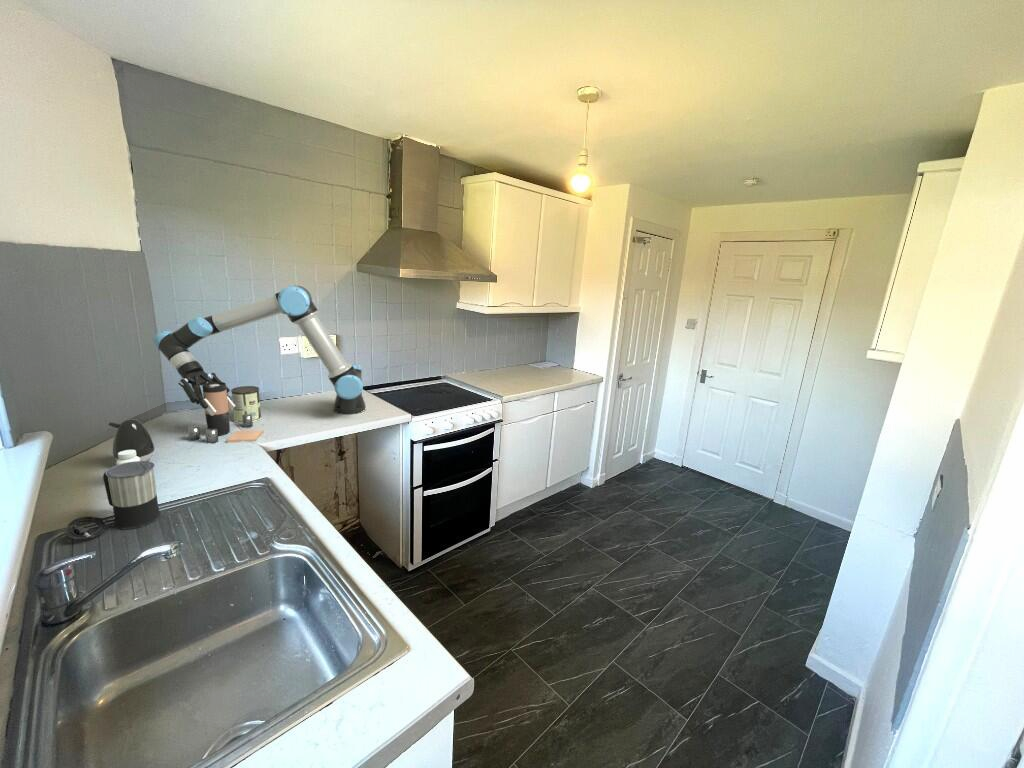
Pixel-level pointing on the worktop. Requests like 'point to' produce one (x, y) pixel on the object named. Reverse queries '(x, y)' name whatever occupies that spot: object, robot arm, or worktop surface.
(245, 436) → the terracotta tile
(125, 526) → the milk frother
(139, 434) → the pump dispenser
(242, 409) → the coffee can
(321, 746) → the worktop surface
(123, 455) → the supplement bottle
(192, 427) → the spacer posts
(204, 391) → the travel mug
